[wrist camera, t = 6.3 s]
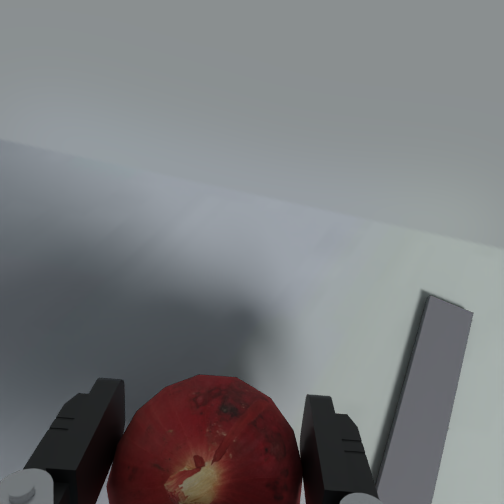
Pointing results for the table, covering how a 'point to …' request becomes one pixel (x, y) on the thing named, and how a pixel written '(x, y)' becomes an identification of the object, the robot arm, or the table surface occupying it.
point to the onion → (207, 448)
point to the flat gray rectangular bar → (424, 406)
